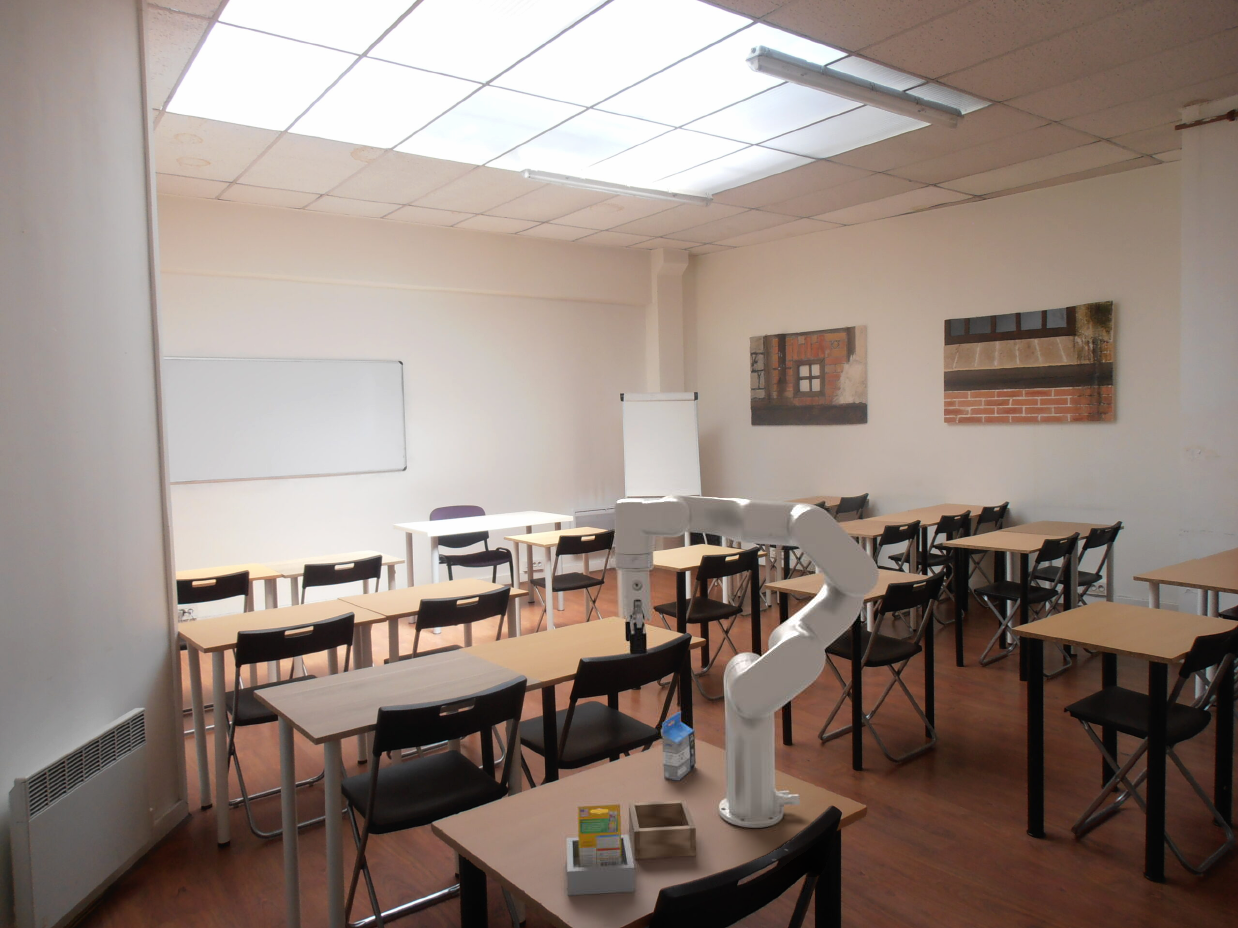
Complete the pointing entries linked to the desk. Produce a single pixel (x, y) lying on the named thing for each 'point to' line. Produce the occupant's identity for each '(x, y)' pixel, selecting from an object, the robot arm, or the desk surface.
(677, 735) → the label tape box
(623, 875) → the block
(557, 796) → the desk surface
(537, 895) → the desk surface
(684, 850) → the sleeve block
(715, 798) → the desk surface
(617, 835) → the crayon box
